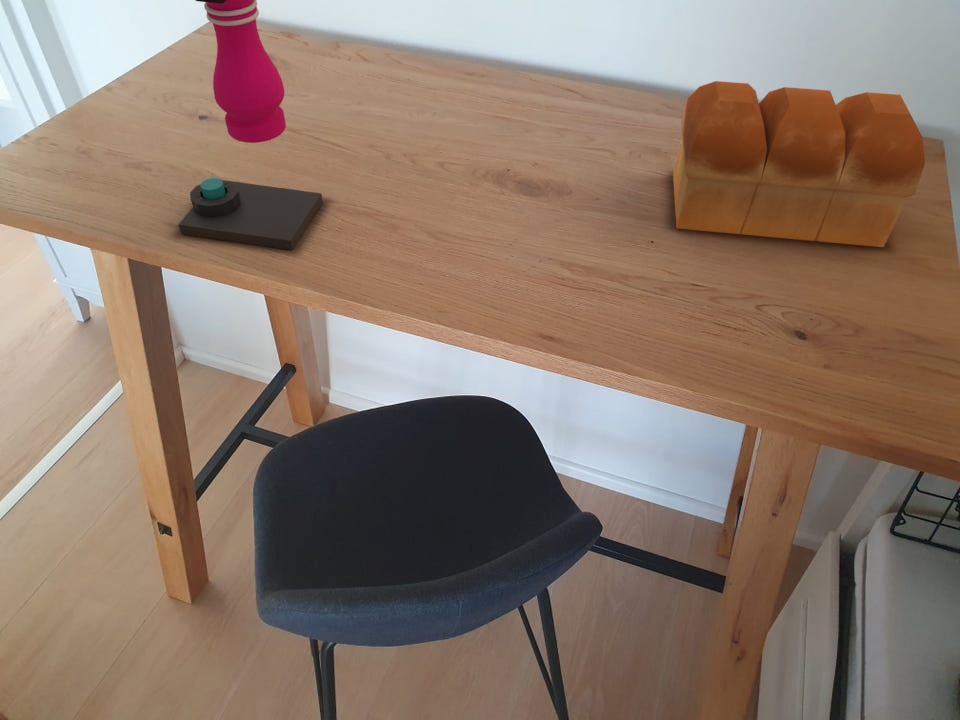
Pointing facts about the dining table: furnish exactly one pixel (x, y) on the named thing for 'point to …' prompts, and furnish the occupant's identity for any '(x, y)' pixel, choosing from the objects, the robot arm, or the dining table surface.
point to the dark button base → (252, 215)
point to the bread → (795, 164)
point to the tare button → (212, 188)
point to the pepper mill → (245, 74)
